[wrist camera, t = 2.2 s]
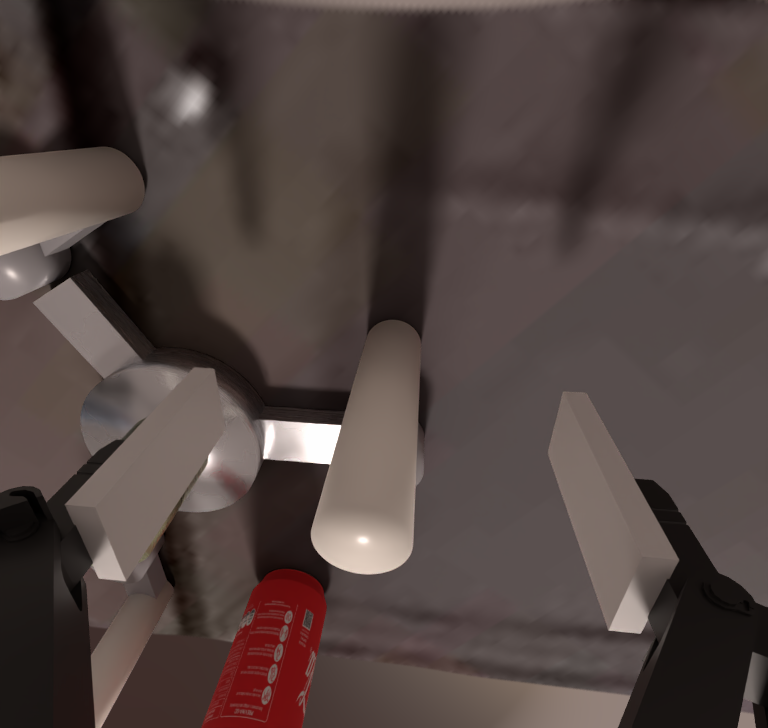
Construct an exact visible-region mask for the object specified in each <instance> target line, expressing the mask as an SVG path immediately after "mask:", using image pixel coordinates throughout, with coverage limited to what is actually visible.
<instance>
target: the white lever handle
mask: <svg viewBox="0 0 768 728" xmlns="http://www.w3.org/2000/svg"><path fill="white" fill-rule="evenodd" d="M164 540H165V539H164V534H163V535H162V536H161V538H160V539H159V541H158V543H157V544H156V546H155V547H154V549H153V550H152V552H151V553H150V555H149V556H148V557H147V558H146V559H145V560H143V561H142V562H139V563H138V564H137V565H136V567H135V568H134V570H133V571H132V573H131V574H130V576H129V577H128V579H127V580H126V581H119V580H111V581H114V582H118V583H123V585H124V587H125V590H126V592H127V594H128V597H127V599H126V601H125V602H124V604H123V605H122V607H121V609H120V610H119V612H118V613H117V615H116V617H115V618H114V620H113V621H112V623H111V624H110V626H109V628H108V629H107V631H106V633H105V634H104V636H103V637H102V639H101V640H100V642H99V644H98V645H97V647H96V648H95V650H94V652H93V653H92V655H91V667H92V683H93V698H94V713H95V728H101V727H102V725H103V723H104V721H105V719H106V717H107V716H108V714H109V712H110V710H111V708H112V706H113V704H114V702H115V701H116V699H117V697H118V695H119V693H120V691H121V690H122V687H123V685H124V684H125V682H126V680H127V678H128V677H129V675H130V673H131V671H132V669H133V667H134V665H135V664H136V662H137V660H138V658H139V656H140V654H141V652H142V651H143V649H144V647H145V645H146V643H147V641H148V639H149V637H150V636H151V634H152V632H153V630H154V628H155V626H156V625H157V623H158V621H159V619H160V617H161V615H162V613H163V612H164V610H165V608H166V606H167V604H168V602H169V600H170V599H171V597H172V595H173V593H174V588H173V586H172V585H171V584H170V583H169V582H168V581H167V579H166V576H165V573H164V571H163V568H162V565H161V562H160V559H159V556H158V552H159V551H160V549H161V547H162V546H163V544H164ZM90 567H91V568H92V569H93V570H94V571H95V569H94V567H93V566H90ZM95 572H96V571H95ZM108 580H109V579H108Z"/></svg>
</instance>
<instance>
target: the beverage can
mask: <svg viewBox="0 0 768 728" xmlns="http://www.w3.org/2000/svg"><path fill="white" fill-rule="evenodd" d="M326 609H327V605H326V602H325V598H324V589H323V586H322V585H321V583H320V582H319V581H318V580H317V579H316V578H315V577H314V576H312V575H310V574H309V573H307V572H304V571H301V570H298V569H292V568H280V569H275V570H272V571H270V572H269V573H267V574H266V575H265V577H264V578H263V580H262V581H261V582H260V583H259V584H258V585H257V586H256V587H255V588H254V589H253V591H252V594H251V596H250V599H249V602H248V604H247V607H246V610H245V612H244V615H243V618H242V620H241V623H240V626H239V628H238V631H237V634H236V636H235V639H234V642H233V645H232V647H231V650H230V653H229V655H228V658H227V660H226V663H225V666H224V669H223V671H222V674H221V676H220V679H219V682H218V685H217V687H216V690H215V693H214V695H213V698H212V701H211V703H210V706H209V709H208V711H207V714H206V717H205V719H204V722H203V725H202V727H201V728H302V724H303V719H304V714H305V710H306V704H307V700H308V695H309V690H310V685H311V681H312V676H313V672H314V666H315V661H316V657H317V652H318V648H319V643H320V638H321V633H322V629H323V624H324V619H325V614H326Z"/></svg>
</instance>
